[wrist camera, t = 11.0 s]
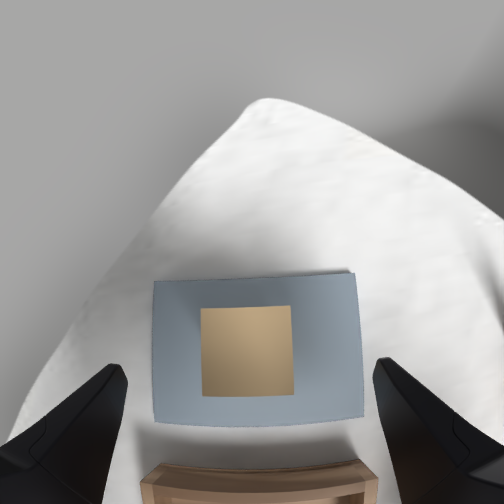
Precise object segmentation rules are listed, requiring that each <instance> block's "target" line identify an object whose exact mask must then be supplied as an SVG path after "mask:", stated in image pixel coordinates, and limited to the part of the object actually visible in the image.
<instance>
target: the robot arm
mask: <svg viewBox="0 0 504 504" xmlns="http://www.w3.org/2000/svg"><path fill="white" fill-rule="evenodd" d="M373 384H374V389H375V395H376V401H377V406H378V412H379V417H380V421H381V424H382V428H383V431H384V435H385V438H386V442H387V446H388V449H389V453H390V457H391V461H392V465H393V468H394V472H395V476H396V481H397V485H398V489H399V493H400V498H401V502H402V504H504V446H503V445H501V444H500V443H498V442H497V441H495V440H494V439H492V438H491V437H489V436H487V435H486V434H484V433H483V432H481V431H480V430H478V429H477V428H476V427H474V426H473V425H471V424H470V423H469V422H467V421H466V420H465V419H464V418H462V417H461V416H460V415H459V414H458V413H456V412H454V410H453V409H451V408H450V407H449V406H448V405H447V404H445V403H444V402H443V401H442V400H441V399H439V398H438V397H437V396H436V395H435V394H433V393H432V392H431V391H430V390H429V389H427V388H426V387H425V386H424V385H423V384H421V383H420V382H419V381H418V380H416V379H415V378H414V377H413V376H412V375H410V374H409V373H408V372H407V371H406V370H404V369H403V368H402V367H401V366H400V365H398V364H397V363H396V362H395V361H393V360H392V359H391V358H389V357H385V358H379V359H378V360H377V362H376V366H375V369H374V372H373ZM127 387H128V380H127V378H126V375H125V373H124V371H123V369H122V367H121V366H120V365H119V364H112V363H111V364H108V365H107V366H106V367H104V368H103V369H102V370H101V371H99V372H98V373H97V374H96V375H94V376H93V377H92V378H91V379H90V380H88V381H87V382H86V383H85V384H83V385H82V386H81V387H80V388H78V389H77V390H76V391H75V392H73V393H72V394H71V395H70V396H69V397H67V398H66V399H65V400H64V401H62V402H61V403H60V404H59V405H57V406H56V407H55V408H54V409H53V410H51V411H50V412H49V413H48V414H47V415H46V416H44V417H43V418H41V419H40V420H39V421H38V422H36V423H35V424H34V425H32V426H31V427H30V428H28V429H27V430H25V431H24V432H22V433H21V434H19V435H18V436H16V437H15V438H13V439H12V440H10V441H9V442H7V443H6V444H4V445H2V446H1V447H0V504H102V500H103V495H104V490H105V486H106V481H107V477H108V472H109V468H110V464H111V460H112V456H113V452H114V448H115V444H116V440H117V436H118V433H119V429H120V425H121V421H122V416H123V410H124V404H125V398H126V392H127Z"/></svg>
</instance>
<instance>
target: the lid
mask: <svg viewBox="0 0 504 504" xmlns="http://www.w3.org/2000/svg"><path fill="white" fill-rule="evenodd" d="M153 399H154V419H155V422H159V423H168V424H179V425H193V426H212V427H269V426H288V425H302V424H313V423H322V422H331V421H338V420H346V419H352V418H358V417H364V380H363V357H362V341H361V327H360V316H359V305H358V295H357V286H356V278H355V273H345V274H328V275H310V276H291V277H271V278H248V279H221V280H190V281H154V302H153Z"/></svg>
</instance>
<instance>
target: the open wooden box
mask: <svg viewBox="0 0 504 504" xmlns="http://www.w3.org/2000/svg"><path fill="white" fill-rule="evenodd" d="M140 488H141V494H142V500H143V504H376V498H377V488H378V477H377V476H376V475H375V474H374V473H373V472H372V471H371V470H370V469H369V468H368V467H367V466H366V465H365V464H364V463H363V462H362V461H361V460H360V459H358V460H352V461H347V462H340V463H334V464H326V465H318V466H309V467H298V468H284V469H256V470H239V469H212V468H198V467H187V466H177V465H169V464H162V463H161V464H159V465H158V466H157V467H156V468H155V469H154V470H153V471H152V472H151V473H149V474H148V475H147V476H146V477H145V478H144V479H143V480H141V481H140Z"/></svg>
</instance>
